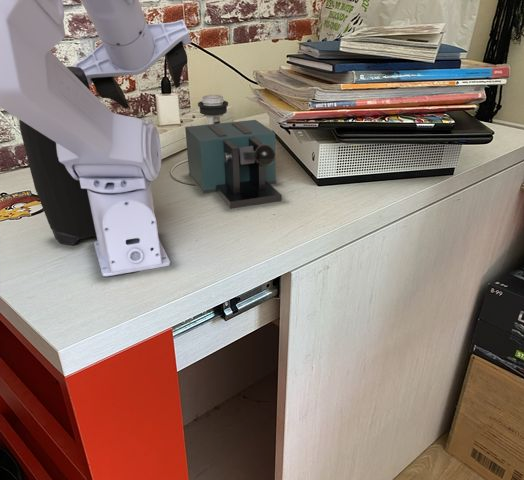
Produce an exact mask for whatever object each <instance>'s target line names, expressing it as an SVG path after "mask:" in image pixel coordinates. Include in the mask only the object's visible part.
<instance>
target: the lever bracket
mask: <svg viewBox="0 0 524 480" xmlns="http://www.w3.org/2000/svg"><path fill="white" fill-rule="evenodd" d="M260 145H263V143H262V142H260V141H259V140H258V139H256V138H255V137H254V138H249V146H253V149H254V151H255V150H256V149H257V147H259V146H260ZM223 146H224V165H225V184H222V185H216V192H215V193H216V194H217V195H218V196H219V197H220V199H221V200H222V201H223V202H224V203H225V204H226V206H227V207H228V208H229V209H231V210H232V209H240V208H245V207H252V206H259V205H266V204H272V203H279V202H282V194H281V193H280V191H278V190H276V188H275V187H274V186H272V184H271V185H270V184H269V183H268V182H267V181H265V167H263V166H260V165H258V164H257V162H256V161H255V163H252V164H249V171H250V181H244V182H240V171H239V148H238V147H237V146H236V145H235V144H233V143H232V142H231V141H230V140H227V141H223Z"/></svg>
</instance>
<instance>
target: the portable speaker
mask: <svg viewBox="0 0 524 480" xmlns="http://www.w3.org/2000/svg"><path fill="white" fill-rule="evenodd" d="M66 67H67V68H68V69H69V70H70V71H71V72H72V73H73V74H74V75H75V76H76V77H77V78H78V79H79V80H80V81H81V82H82V83H83V84H84V85H85V86H86V87H87V88H88V89H89V90H90V91H91V87H90V85H89V84H88V80H87V78H86V75H85V73H84V71H83V70H82V69H81V68H79V67H75V66H74V65H72V66H66ZM18 120H19V121H18V122H19V130H20V135H21V139H22V143H23V146H24V147H23V148H24V151H25V154H26V158H27V159H26V160H27V163H28V166H29V170H30V174H31V177H32V182H33V186H34V189H35V192H36V195H37V197H38V199H39V203H40V205H41V207H42V209H43V212H44V215H45V217H46V220H47V223H48V225H49V227H50V230H51V231H52V233H53V236H54V239H55V240H56V241H57V242H59V244H62V245H70V246H75V245H77V244H78V243H79V240H83V239H89V238H92V237H97V236H96V231H95V226H94V221H93V216H92V212H91V207H90V202H89V197H88V192H87V189H82V188H81V185H80V180H76V179H74V178H73V177H72V176H71V175H70V173H69V172H68V171H67V169H66V167H65V165H64V164H62V163H61V162H59V159H58V156H57V148H56V142H54V141H53V140H51V139H50V138H48V137H47V136H45V135H43V134H42V133H40V132H39V131H37V130H35V129H34V128H32V127H31V126H29V125H28V124H26V123H24V122H23V121H21V120H20V119H18Z"/></svg>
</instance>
